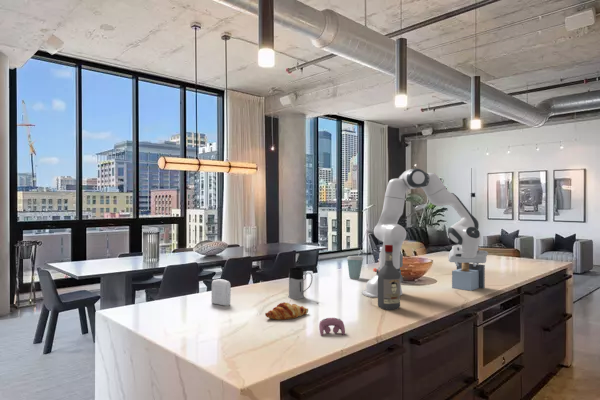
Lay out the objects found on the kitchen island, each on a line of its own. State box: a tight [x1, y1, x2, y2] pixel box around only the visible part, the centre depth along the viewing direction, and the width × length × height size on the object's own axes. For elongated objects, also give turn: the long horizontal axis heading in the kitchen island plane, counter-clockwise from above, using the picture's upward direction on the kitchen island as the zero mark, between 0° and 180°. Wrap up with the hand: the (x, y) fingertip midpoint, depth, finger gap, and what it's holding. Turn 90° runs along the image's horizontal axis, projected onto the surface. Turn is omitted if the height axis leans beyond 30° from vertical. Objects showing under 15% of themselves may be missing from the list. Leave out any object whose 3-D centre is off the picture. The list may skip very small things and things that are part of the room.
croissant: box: [265, 301, 309, 321], centre depth 191 cm, size 21×10×8 cm, turn 120°
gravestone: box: [210, 278, 232, 307], centre depth 214 cm, size 10×4×12 cm, turn 60°
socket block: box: [451, 268, 480, 292], centre depth 250 cm, size 11×11×10 cm
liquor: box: [377, 245, 401, 311], centre depth 207 cm, size 9×9×30 cm
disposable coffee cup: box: [346, 255, 364, 280], centre depth 284 cm, size 11×11×15 cm
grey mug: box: [288, 267, 313, 300], centre depth 228 cm, size 9×14×15 cm, turn 59°
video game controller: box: [318, 317, 346, 336], centre depth 167 cm, size 10×5×7 cm, turn 94°
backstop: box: [456, 262, 486, 289], centre depth 249 cm, size 20×16×14 cm
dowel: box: [462, 263, 469, 272], centre depth 250 cm, size 4×4×12 cm
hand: (465, 265), depth 250 cm, fingers open, 8 cm apart
